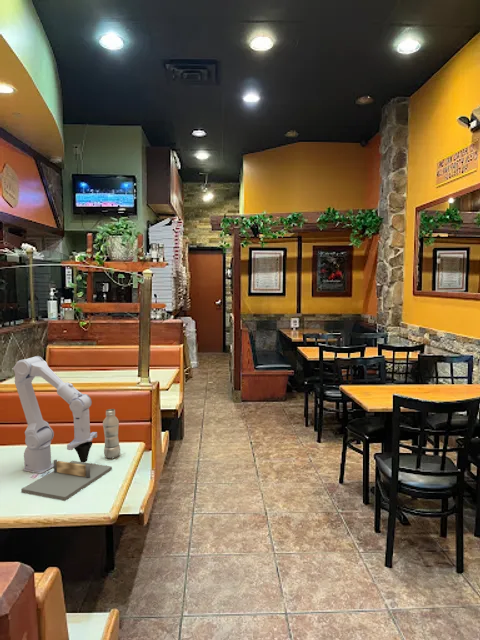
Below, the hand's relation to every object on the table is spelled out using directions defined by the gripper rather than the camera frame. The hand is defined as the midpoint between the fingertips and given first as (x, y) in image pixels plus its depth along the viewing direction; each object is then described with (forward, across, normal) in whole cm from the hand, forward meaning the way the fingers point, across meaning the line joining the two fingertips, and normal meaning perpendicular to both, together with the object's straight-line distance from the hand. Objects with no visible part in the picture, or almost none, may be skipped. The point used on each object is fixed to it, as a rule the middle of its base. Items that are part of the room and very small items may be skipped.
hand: (83, 461), depth 161 cm
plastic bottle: (+4, +15, -2) cm, 16 cm away
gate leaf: (+2, -6, +1) cm, 6 cm away
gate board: (+4, -8, 0) cm, 9 cm away
